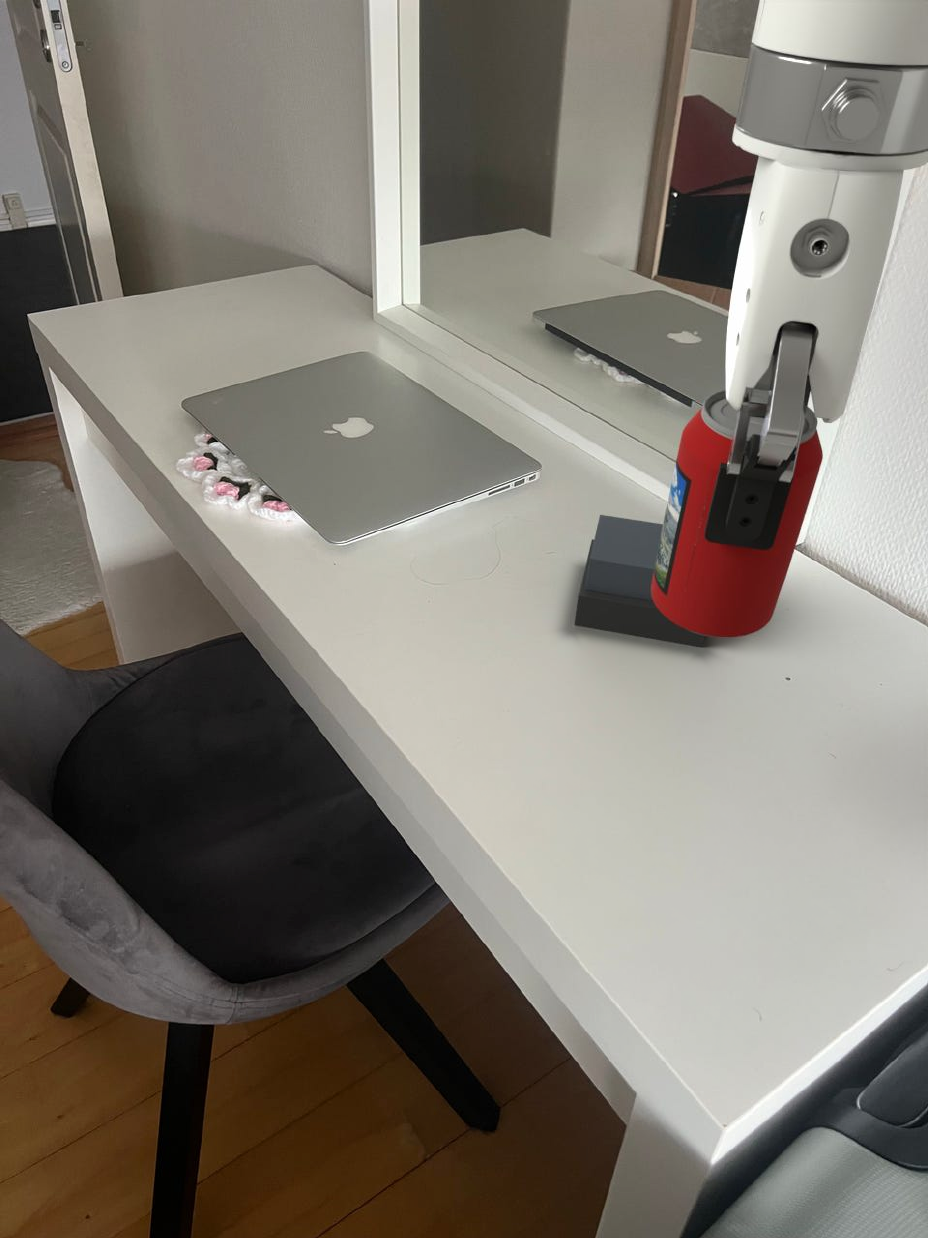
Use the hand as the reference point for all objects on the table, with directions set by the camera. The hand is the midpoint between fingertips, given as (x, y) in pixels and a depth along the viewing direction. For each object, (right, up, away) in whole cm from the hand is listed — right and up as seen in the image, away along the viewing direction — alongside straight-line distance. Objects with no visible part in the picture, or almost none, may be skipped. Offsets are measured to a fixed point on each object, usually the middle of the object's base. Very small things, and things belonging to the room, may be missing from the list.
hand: (737, 499), depth 46 cm
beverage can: (0, -6, +5) cm, 7 cm away
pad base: (+1, -5, +28) cm, 29 cm away
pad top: (+1, -3, +26) cm, 26 cm away
